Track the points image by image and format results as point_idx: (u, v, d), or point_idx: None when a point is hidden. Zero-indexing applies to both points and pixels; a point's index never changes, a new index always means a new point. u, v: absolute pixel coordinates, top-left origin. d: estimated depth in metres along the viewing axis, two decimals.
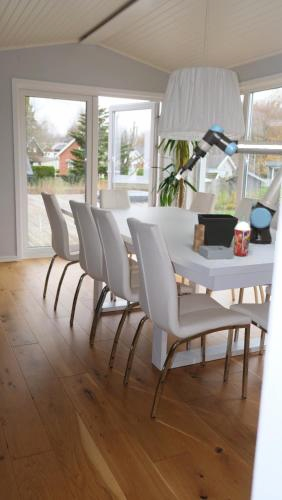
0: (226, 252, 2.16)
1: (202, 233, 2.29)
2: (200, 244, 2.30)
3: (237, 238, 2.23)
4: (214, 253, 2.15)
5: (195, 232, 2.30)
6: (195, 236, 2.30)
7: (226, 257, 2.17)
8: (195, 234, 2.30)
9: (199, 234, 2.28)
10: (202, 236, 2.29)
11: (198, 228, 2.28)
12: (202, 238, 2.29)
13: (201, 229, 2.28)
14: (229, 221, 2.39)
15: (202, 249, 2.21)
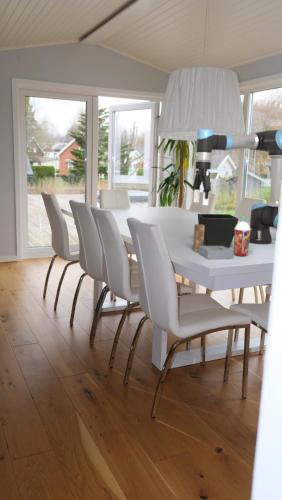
0: (226, 252, 2.16)
1: (202, 233, 2.29)
2: (200, 244, 2.30)
3: (237, 238, 2.23)
4: (214, 253, 2.15)
5: (195, 232, 2.30)
6: (195, 236, 2.30)
7: (226, 257, 2.17)
8: (195, 234, 2.30)
9: (199, 234, 2.28)
10: (202, 236, 2.29)
11: (198, 228, 2.28)
12: (202, 238, 2.29)
13: (201, 229, 2.28)
14: (229, 221, 2.39)
15: (202, 249, 2.21)
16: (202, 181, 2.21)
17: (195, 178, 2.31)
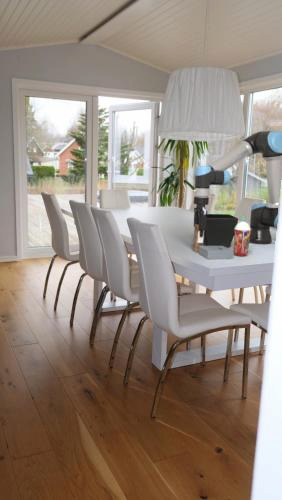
0: (226, 252, 2.16)
1: None
2: (200, 244, 2.30)
3: (237, 238, 2.23)
4: (214, 253, 2.15)
5: (195, 232, 2.30)
6: (195, 236, 2.30)
7: (226, 257, 2.17)
8: (195, 234, 2.30)
9: None
10: None
11: (198, 228, 2.28)
12: None
13: None
14: (229, 221, 2.39)
15: (202, 249, 2.21)
16: (199, 218, 2.27)
17: (194, 215, 2.33)
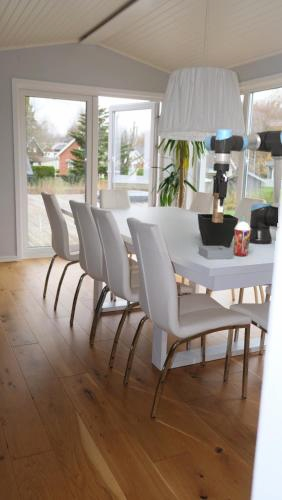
0: (226, 252, 2.16)
1: None
2: (220, 214, 2.16)
3: (237, 238, 2.23)
4: (214, 253, 2.15)
5: (214, 201, 2.16)
6: (214, 205, 2.17)
7: (226, 257, 2.17)
8: (214, 203, 2.17)
9: None
10: None
11: (218, 196, 2.14)
12: None
13: None
14: (229, 221, 2.39)
15: (202, 249, 2.21)
16: (219, 185, 2.13)
17: (213, 184, 2.20)
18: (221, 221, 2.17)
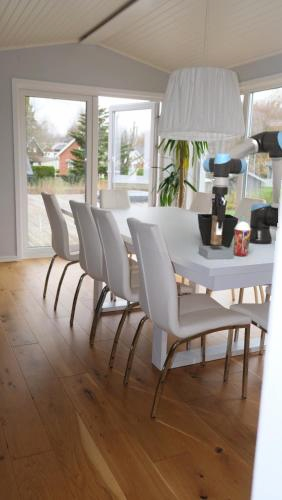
0: (226, 252, 2.16)
1: None
2: (218, 236, 2.18)
3: (237, 238, 2.23)
4: (214, 253, 2.15)
5: (213, 224, 2.19)
6: (212, 228, 2.19)
7: (226, 257, 2.17)
8: (213, 226, 2.19)
9: None
10: None
11: (216, 219, 2.16)
12: None
13: None
14: (229, 221, 2.39)
15: (202, 249, 2.21)
16: (217, 208, 2.15)
17: (212, 206, 2.22)
18: (219, 243, 2.19)
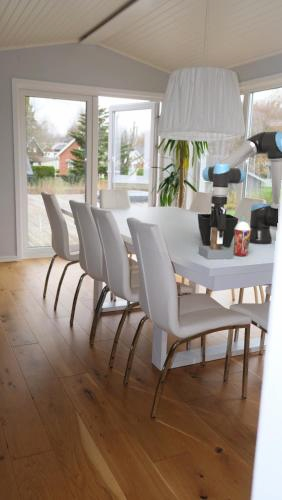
0: (226, 252, 2.16)
1: None
2: (218, 248, 2.20)
3: (237, 238, 2.23)
4: (214, 253, 2.15)
5: (212, 236, 2.20)
6: (212, 240, 2.21)
7: (226, 257, 2.17)
8: (212, 238, 2.20)
9: None
10: None
11: (216, 232, 2.18)
12: None
13: None
14: (229, 221, 2.39)
15: (202, 249, 2.21)
16: (217, 218, 2.16)
17: (211, 214, 2.24)
18: None
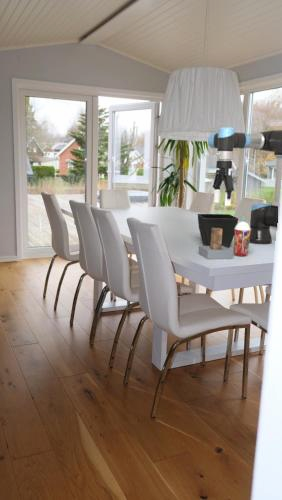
0: (226, 252, 2.16)
1: (220, 237, 2.19)
2: (218, 248, 2.20)
3: (237, 238, 2.23)
4: (214, 253, 2.15)
5: (212, 236, 2.20)
6: (212, 240, 2.21)
7: (226, 257, 2.17)
8: (212, 238, 2.20)
9: (217, 238, 2.18)
10: (220, 240, 2.19)
11: (216, 232, 2.18)
12: (219, 242, 2.19)
13: (219, 233, 2.18)
14: (229, 221, 2.39)
15: (202, 249, 2.21)
16: (224, 181, 2.15)
17: (215, 178, 2.25)
18: None
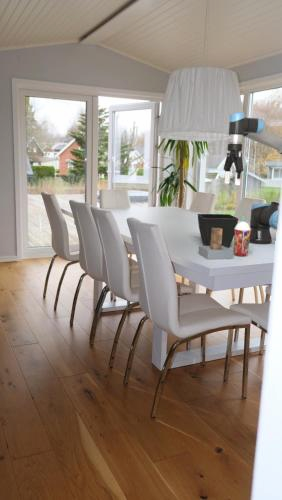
0: (226, 252, 2.16)
1: (220, 237, 2.19)
2: (218, 248, 2.20)
3: (237, 238, 2.23)
4: (214, 253, 2.15)
5: (212, 236, 2.20)
6: (212, 240, 2.21)
7: (226, 257, 2.17)
8: (212, 238, 2.20)
9: (217, 238, 2.18)
10: (220, 240, 2.19)
11: (216, 232, 2.18)
12: (219, 242, 2.19)
13: (219, 233, 2.18)
14: (229, 221, 2.39)
15: (202, 249, 2.21)
16: (234, 162, 2.32)
17: (226, 160, 2.42)
18: None
